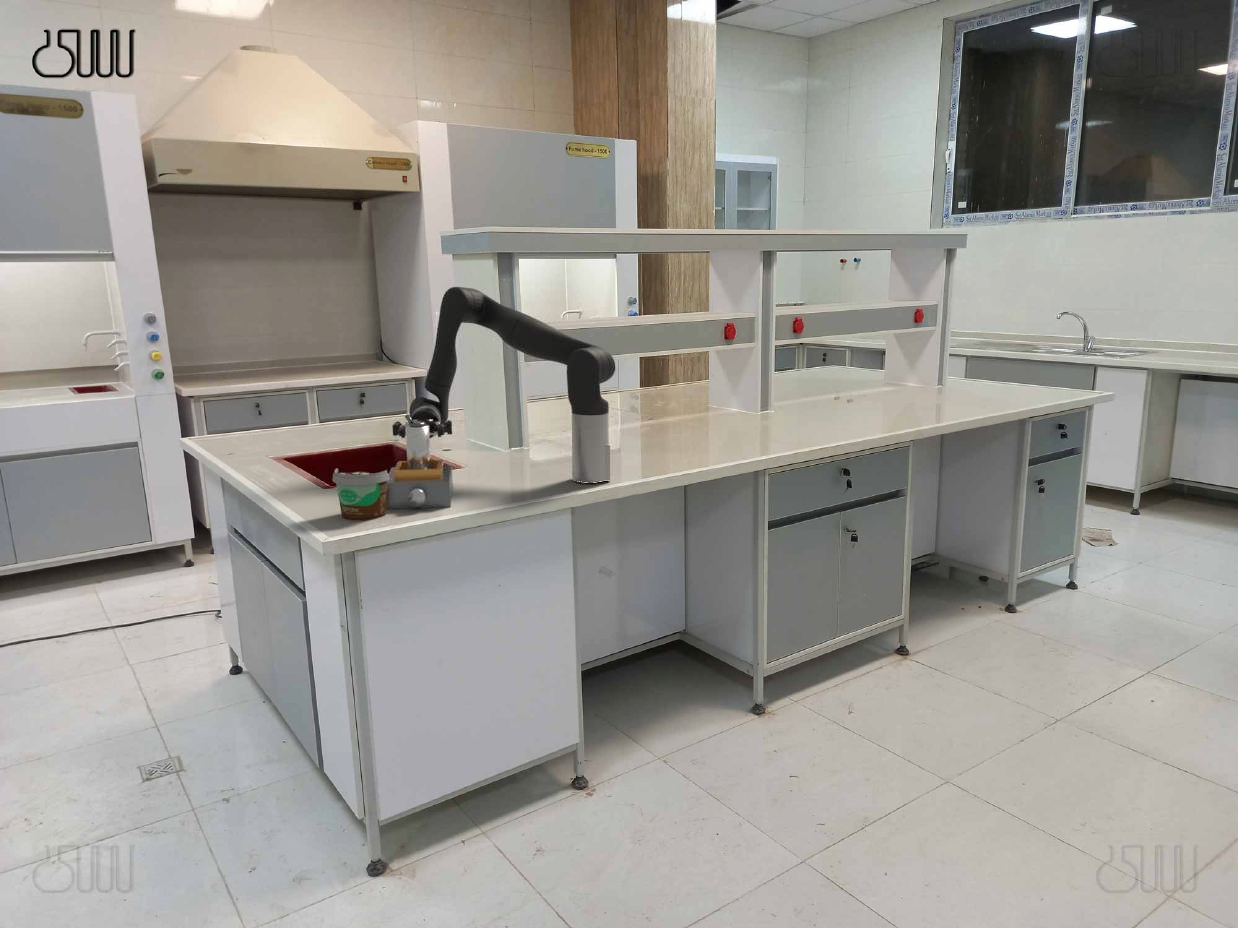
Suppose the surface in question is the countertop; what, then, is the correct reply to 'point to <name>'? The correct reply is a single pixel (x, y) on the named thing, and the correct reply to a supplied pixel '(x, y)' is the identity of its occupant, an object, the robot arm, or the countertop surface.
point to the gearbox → (419, 486)
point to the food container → (361, 494)
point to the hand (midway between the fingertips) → (421, 433)
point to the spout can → (417, 444)
